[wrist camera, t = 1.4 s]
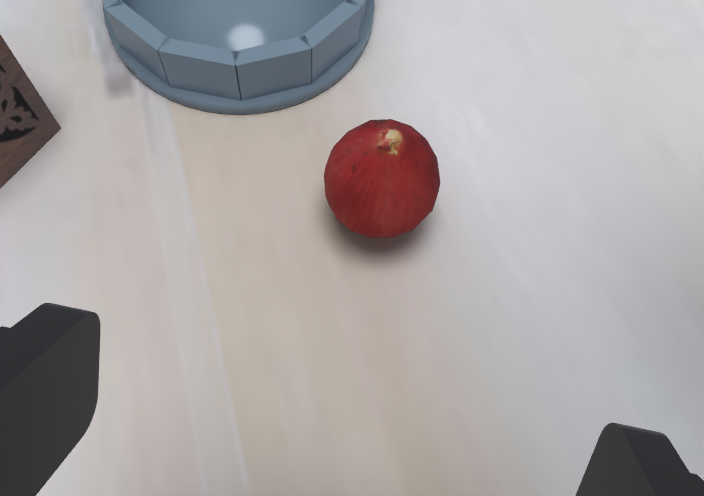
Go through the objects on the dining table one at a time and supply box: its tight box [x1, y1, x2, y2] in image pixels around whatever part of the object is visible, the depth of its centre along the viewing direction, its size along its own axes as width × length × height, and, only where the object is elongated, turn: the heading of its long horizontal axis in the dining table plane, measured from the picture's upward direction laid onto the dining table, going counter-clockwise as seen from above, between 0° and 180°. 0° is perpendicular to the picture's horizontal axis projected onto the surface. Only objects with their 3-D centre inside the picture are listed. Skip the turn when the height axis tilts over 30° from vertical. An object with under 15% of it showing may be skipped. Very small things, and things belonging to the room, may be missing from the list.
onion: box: [324, 119, 440, 238], centre depth 30 cm, size 6×6×8 cm
